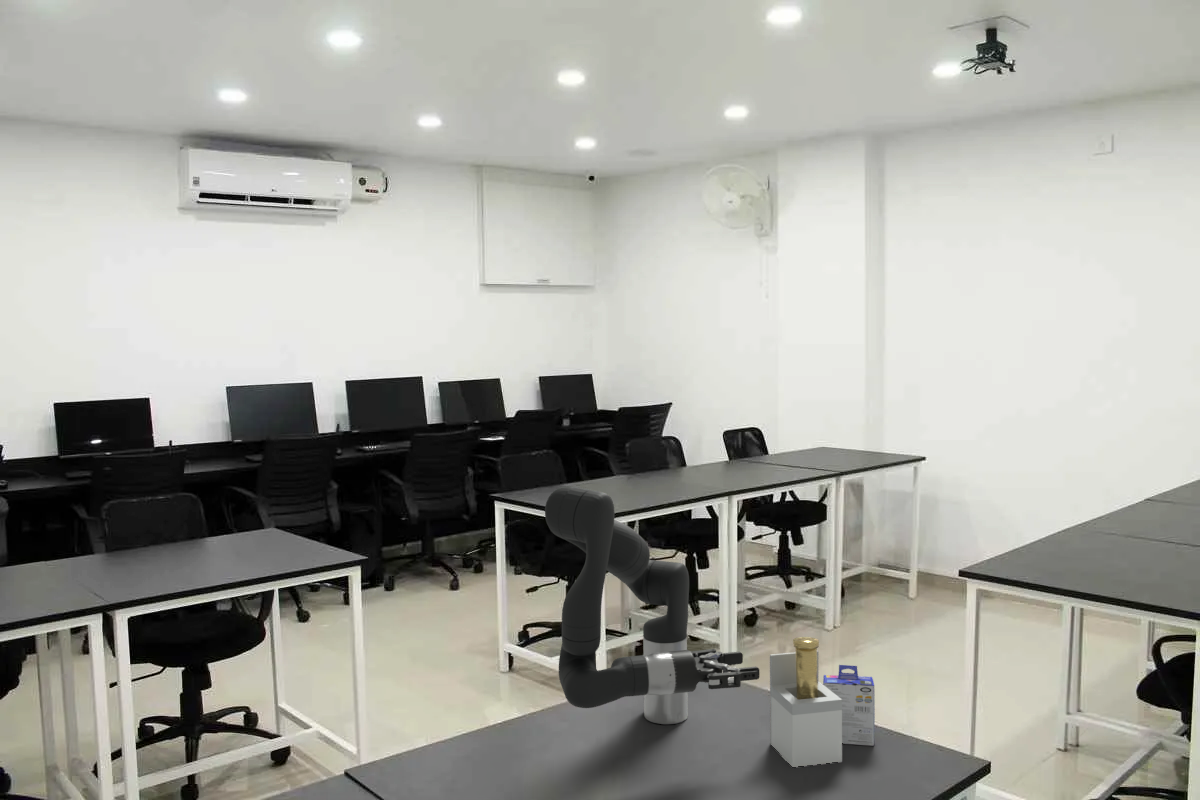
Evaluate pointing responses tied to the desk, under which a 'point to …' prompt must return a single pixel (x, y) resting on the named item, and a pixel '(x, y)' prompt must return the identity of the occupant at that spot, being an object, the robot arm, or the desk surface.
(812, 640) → the hinge pin
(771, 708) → the hinge block
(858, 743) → the ink cartridge box
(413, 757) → the desk surface
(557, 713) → the desk surface
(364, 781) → the desk surface
